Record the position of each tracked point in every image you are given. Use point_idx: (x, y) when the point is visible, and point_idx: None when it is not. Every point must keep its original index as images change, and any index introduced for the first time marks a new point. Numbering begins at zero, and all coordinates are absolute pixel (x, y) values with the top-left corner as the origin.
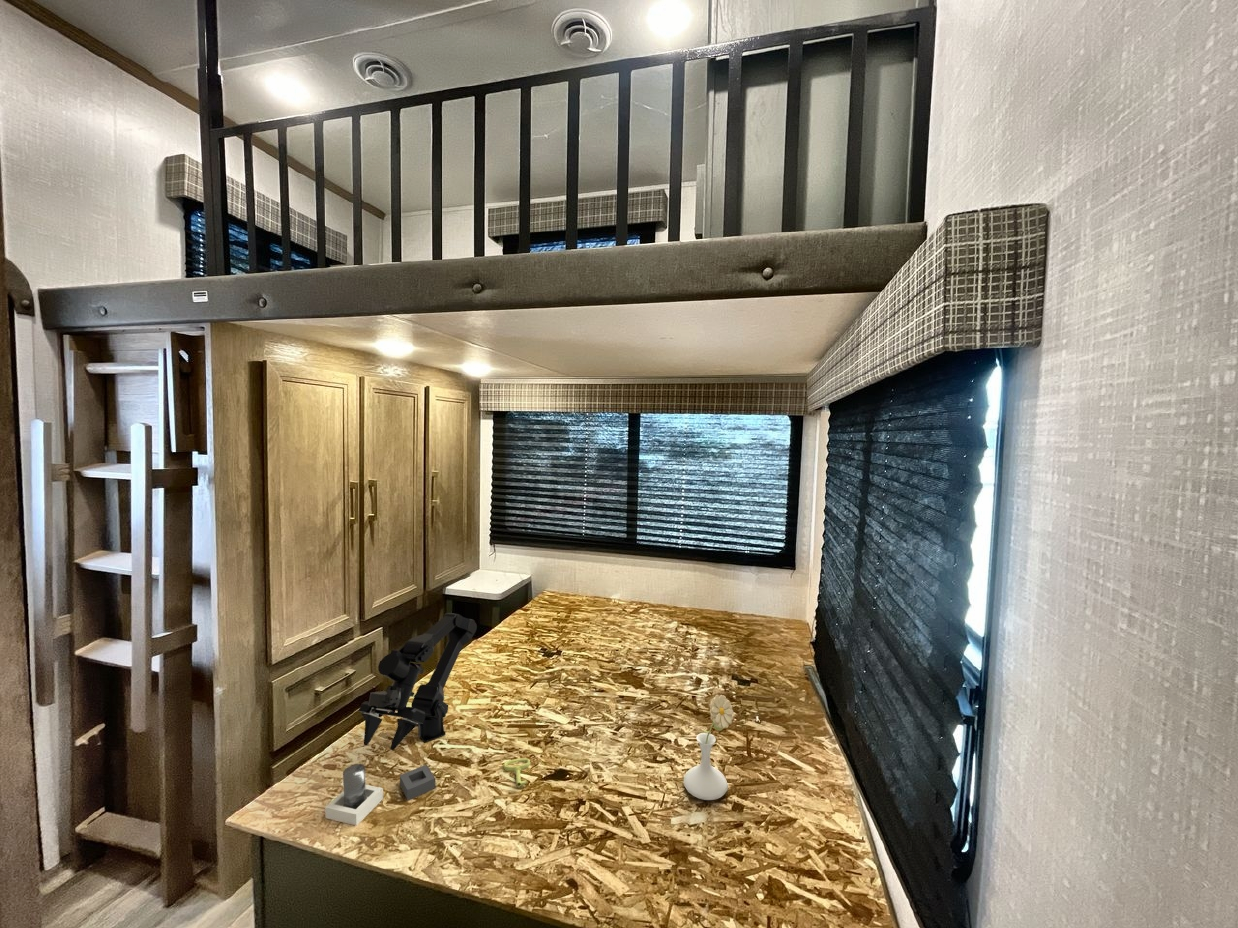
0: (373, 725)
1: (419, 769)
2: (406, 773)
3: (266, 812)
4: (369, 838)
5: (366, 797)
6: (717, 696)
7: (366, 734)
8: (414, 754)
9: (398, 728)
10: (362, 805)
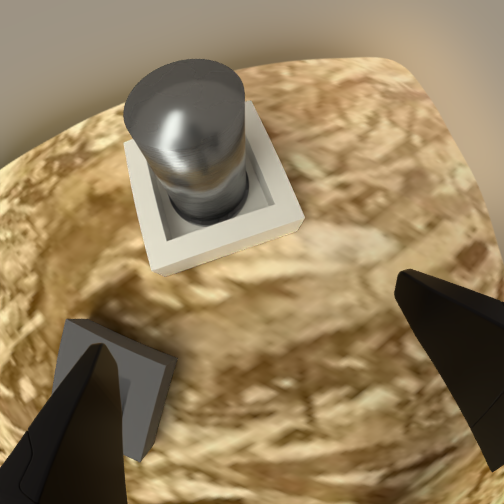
0: (497, 388)
1: (132, 429)
2: (152, 388)
3: (393, 80)
4: (72, 166)
5: (195, 223)
6: None
7: (457, 297)
8: (301, 482)
9: (16, 489)
10: (138, 171)
